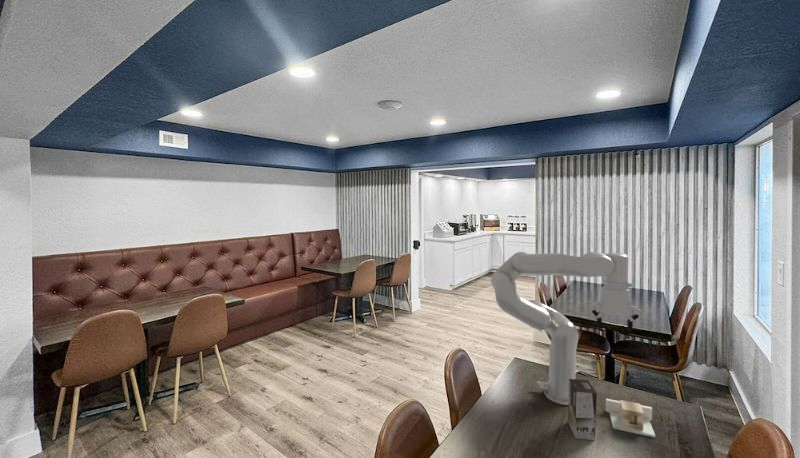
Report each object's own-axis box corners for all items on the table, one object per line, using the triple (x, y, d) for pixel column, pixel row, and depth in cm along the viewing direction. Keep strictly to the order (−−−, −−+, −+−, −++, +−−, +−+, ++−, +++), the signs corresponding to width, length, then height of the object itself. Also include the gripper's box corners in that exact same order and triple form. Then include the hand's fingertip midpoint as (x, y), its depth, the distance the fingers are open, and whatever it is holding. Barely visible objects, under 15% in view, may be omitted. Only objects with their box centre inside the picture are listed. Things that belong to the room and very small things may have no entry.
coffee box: (596, 440, 115) (597, 393, 113) (574, 438, 116) (575, 391, 114) (587, 423, 123) (588, 379, 122) (567, 421, 125) (568, 377, 123)
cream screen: (606, 411, 130) (606, 400, 129) (605, 410, 131) (606, 398, 131) (651, 421, 124) (652, 408, 124) (650, 419, 125) (651, 407, 125)
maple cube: (639, 420, 124) (640, 403, 123) (643, 430, 118) (643, 413, 117) (619, 415, 126) (620, 399, 126) (622, 425, 120) (622, 409, 120)
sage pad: (612, 428, 120) (613, 426, 120) (609, 413, 129) (609, 411, 129) (655, 437, 116) (655, 435, 115) (648, 421, 124) (649, 419, 124)
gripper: (640, 285, 134) (638, 328, 136) (589, 281, 141) (588, 322, 143) (644, 289, 128) (642, 335, 129) (590, 285, 135) (589, 329, 136)
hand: (614, 328), depth 136 cm, fingers open, 9 cm apart
